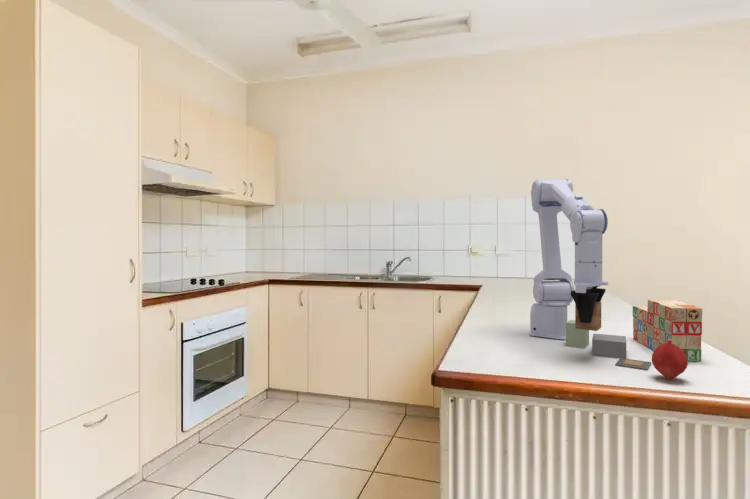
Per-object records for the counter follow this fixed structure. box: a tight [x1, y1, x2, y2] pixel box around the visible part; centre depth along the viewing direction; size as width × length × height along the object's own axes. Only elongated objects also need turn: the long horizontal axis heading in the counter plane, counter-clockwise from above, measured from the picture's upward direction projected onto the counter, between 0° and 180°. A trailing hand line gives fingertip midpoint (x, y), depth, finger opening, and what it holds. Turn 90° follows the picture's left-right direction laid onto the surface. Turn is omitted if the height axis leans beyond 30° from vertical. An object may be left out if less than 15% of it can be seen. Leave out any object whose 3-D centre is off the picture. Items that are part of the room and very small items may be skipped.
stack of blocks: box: [632, 299, 703, 363], centre depth 107 cm, size 21×6×12 cm, turn 170°
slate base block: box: [591, 333, 627, 359], centre depth 104 cm, size 7×7×4 cm
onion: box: [651, 339, 689, 380], centre depth 85 cm, size 6×6×8 cm
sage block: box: [565, 319, 590, 349], centre depth 112 cm, size 4×4×6 cm
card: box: [614, 358, 652, 371], centre depth 95 cm, size 6×6×1 cm
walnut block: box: [574, 301, 602, 332], centre depth 100 cm, size 4×4×6 cm
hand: (588, 320), depth 100 cm, fingers closed on walnut block, 4 cm apart
